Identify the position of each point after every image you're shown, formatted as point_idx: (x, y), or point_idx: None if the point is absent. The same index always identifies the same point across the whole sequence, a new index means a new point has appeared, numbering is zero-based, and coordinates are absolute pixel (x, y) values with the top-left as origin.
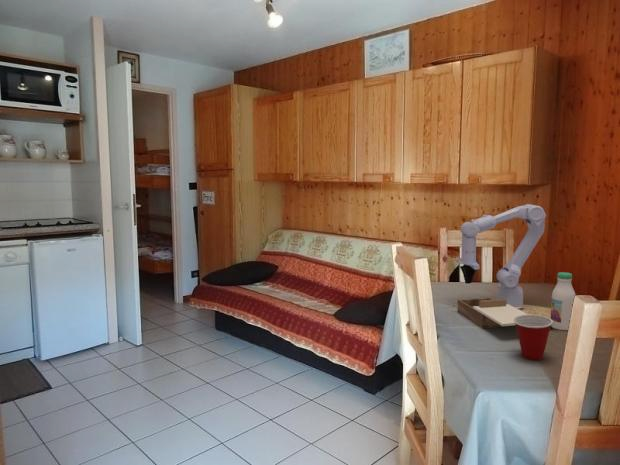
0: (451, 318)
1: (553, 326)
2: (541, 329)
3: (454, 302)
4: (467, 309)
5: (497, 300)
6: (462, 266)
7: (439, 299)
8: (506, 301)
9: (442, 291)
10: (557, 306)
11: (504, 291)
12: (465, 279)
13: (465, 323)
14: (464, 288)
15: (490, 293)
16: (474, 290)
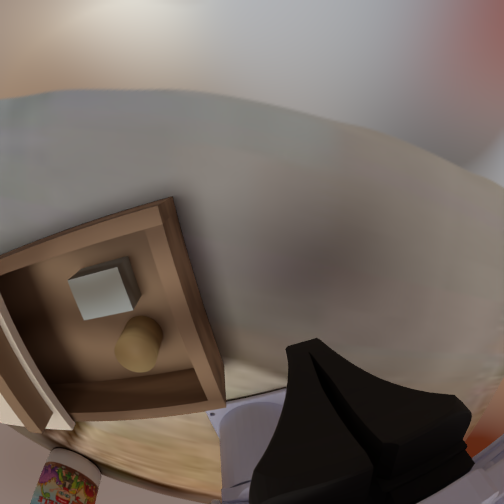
0: (64, 147)
1: (56, 450)
2: None
3: (357, 219)
4: (44, 240)
5: (4, 397)
6: (434, 444)
7: (410, 152)
8: (221, 443)
9: (498, 210)
10: (35, 493)
11: (228, 476)
12: (304, 361)
13: (11, 206)
14: (501, 305)
15: (433, 385)
16: (476, 337)
